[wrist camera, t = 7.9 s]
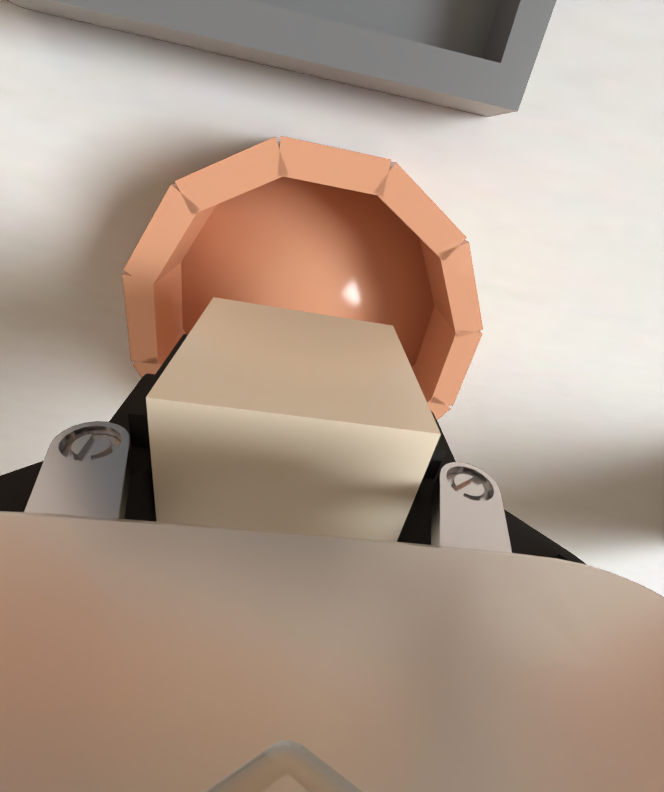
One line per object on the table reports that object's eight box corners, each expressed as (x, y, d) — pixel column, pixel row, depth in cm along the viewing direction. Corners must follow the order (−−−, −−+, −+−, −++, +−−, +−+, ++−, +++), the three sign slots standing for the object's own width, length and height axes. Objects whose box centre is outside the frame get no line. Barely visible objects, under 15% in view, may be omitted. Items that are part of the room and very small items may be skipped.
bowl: (492, 182, 16) (541, 191, 12) (404, 436, 22) (419, 487, 19) (155, 110, 14) (104, 98, 11) (169, 406, 21) (141, 456, 17)
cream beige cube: (392, 325, 11) (440, 433, 7) (356, 457, 14) (374, 594, 10) (213, 297, 10) (145, 397, 6) (210, 441, 13) (161, 580, 9)
